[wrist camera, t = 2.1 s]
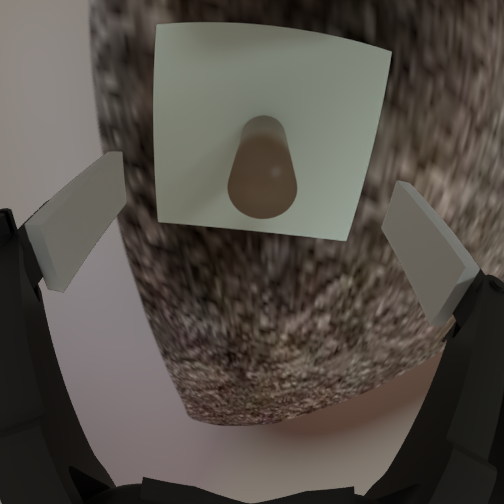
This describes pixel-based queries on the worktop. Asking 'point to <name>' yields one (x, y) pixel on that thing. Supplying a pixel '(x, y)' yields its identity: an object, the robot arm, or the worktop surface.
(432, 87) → the worktop surface
